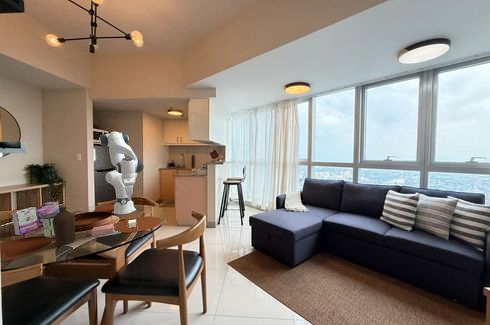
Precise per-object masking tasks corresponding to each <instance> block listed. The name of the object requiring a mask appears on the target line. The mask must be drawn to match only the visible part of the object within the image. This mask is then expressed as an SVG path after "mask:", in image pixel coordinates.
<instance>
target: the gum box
mask: <svg viewBox="0 0 490 325" xmlns="http://www.w3.org/2000/svg"><path fill="white" fill-rule="evenodd" d="M59 206H60V204H59V200H52V201H46V202H45V203H43V204H41V205H40V206H38V207H36V212H37V219H38V226H40V225H43V219H42V216H44V215H46V214H49V213H55V212H59ZM40 227H41V226H40Z"/></svg>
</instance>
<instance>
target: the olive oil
mask: <svg viewBox="0 0 490 325" xmlns="http://www.w3.org/2000/svg"><path fill="white" fill-rule="evenodd" d="M52 223H53V228H54V234H55V236H54V239H55V245H56V247H62V246H68V245H70V244H73V243H75V241H76V239H77V238H76V217H75V215H74V214H73V213H72V212H70V211H68V210H67V205H66V204H59V213H58V214H57V215H56V216H55V217H54V218H53V221H52Z"/></svg>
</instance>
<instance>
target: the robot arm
mask: <svg viewBox="0 0 490 325" xmlns="http://www.w3.org/2000/svg"><path fill="white" fill-rule="evenodd" d="M129 140H130V139H129V135H128V134H127V133H126V132H119V131H111V132H110V133H105V134H100V135H99V138H98V142H99V143H100V145H101V146H102V147H108V151H109V158H110V162H111V165H112V166H114V167H115V168H116V169H115V170H112V171H108V172H107V173H106V175H105V181H106V182H107V183H108V184H111V185H112V186H113V187H114V190H115V196H116V197H115V203H114V204H113V209H114V210H113V211H112V213H114V214H113V215H115V214H116V215H127V214H131V213H132V212H135V211H137V209H136V208H135V205H134V201H133V200H132V195H133V190H134V184H135V183H136V178H137V177H138V174H141V173H142V171H144V168H145V167H144V163H143V162H142V160H141V159H140V158H139V157H138V155H137V154H136V152H135V150H134V149H133V147H131V146H130V145H128V143H129ZM125 156H127V157H125Z"/></svg>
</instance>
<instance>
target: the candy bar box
mask: <svg viewBox="0 0 490 325" xmlns="http://www.w3.org/2000/svg"><path fill="white" fill-rule="evenodd" d="M36 209H37V207H32V206H31V207H27V208H24V209H20V210H16V211H12V212H11V215H12V221H13V226H14V228H13V230H14V233H15V236H22V235H25V234H28V233H30V232H33V231H36V230H39V229H40V227H39V226H38V219H37V212H36Z"/></svg>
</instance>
